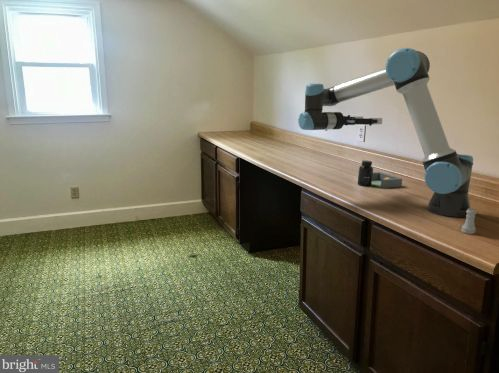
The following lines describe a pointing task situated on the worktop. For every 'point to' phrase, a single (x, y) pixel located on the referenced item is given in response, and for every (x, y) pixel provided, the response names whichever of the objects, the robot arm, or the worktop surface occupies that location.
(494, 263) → the worktop surface
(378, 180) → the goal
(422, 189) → the worktop surface
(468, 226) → the rook chess piece
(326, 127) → the robot arm
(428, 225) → the worktop surface
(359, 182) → the supplement bottle
